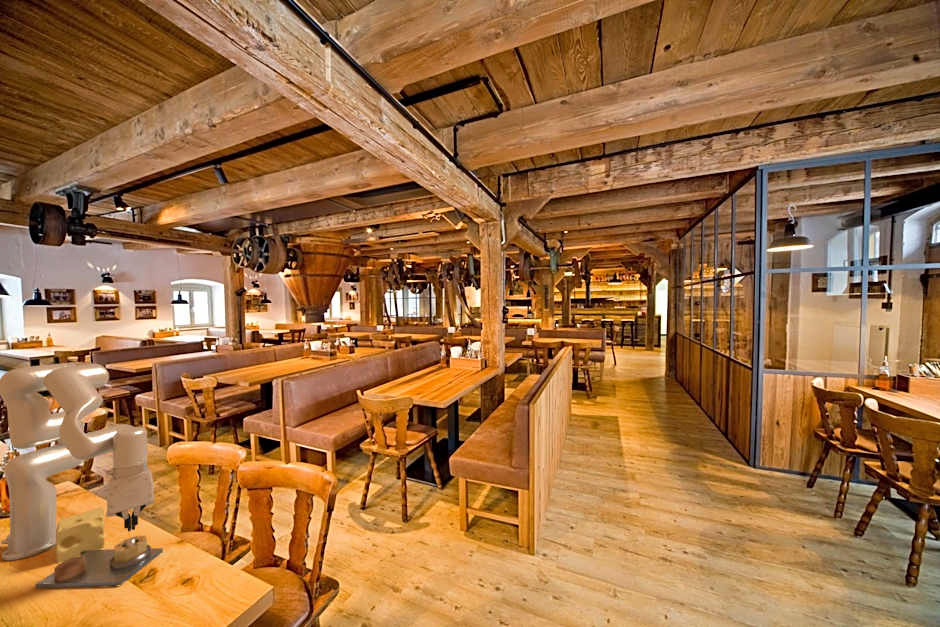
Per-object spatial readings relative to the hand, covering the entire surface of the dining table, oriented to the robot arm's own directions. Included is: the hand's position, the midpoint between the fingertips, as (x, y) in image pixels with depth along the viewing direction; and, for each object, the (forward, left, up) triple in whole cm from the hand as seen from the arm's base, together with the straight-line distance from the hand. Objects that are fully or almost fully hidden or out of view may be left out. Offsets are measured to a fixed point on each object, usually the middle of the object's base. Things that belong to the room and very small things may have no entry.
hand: (131, 528), depth 106 cm
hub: (0, 0, -11) cm, 11 cm away
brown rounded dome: (-12, -5, -11) cm, 17 cm away
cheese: (-23, +8, -11) cm, 27 cm away
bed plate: (-6, -2, -11) cm, 12 cm away
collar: (0, 0, -8) cm, 8 cm away
